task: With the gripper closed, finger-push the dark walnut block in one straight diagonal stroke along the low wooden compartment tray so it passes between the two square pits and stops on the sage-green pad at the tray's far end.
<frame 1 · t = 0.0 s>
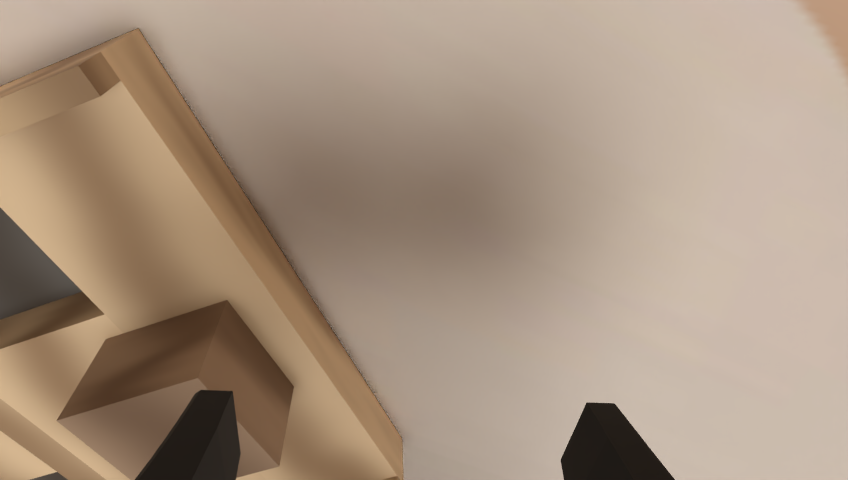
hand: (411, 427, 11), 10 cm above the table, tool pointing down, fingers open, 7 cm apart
wooden compartment tray: (43, 375, 24), on the table
walnut block: (204, 363, 20), point 2 cm above the table, touching wooden compartment tray
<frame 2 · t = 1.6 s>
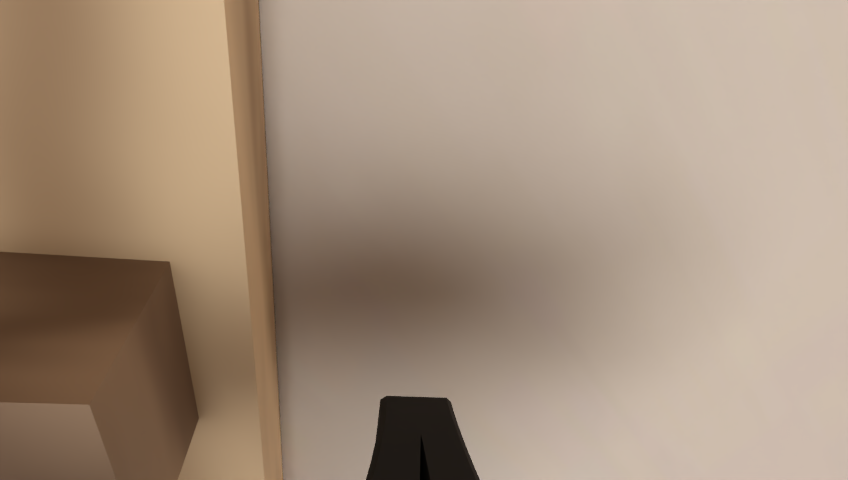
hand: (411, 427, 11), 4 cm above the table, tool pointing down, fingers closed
walnut block: (68, 344, 12), point 2 cm above the table, touching wooden compartment tray
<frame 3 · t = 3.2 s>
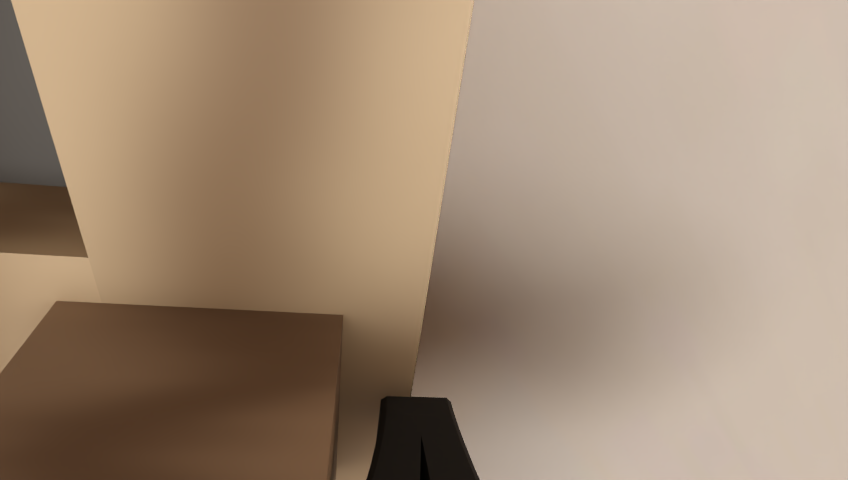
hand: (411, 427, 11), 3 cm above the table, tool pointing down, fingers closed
walnut block: (218, 397, 11), point 3 cm above the table, touching gripper
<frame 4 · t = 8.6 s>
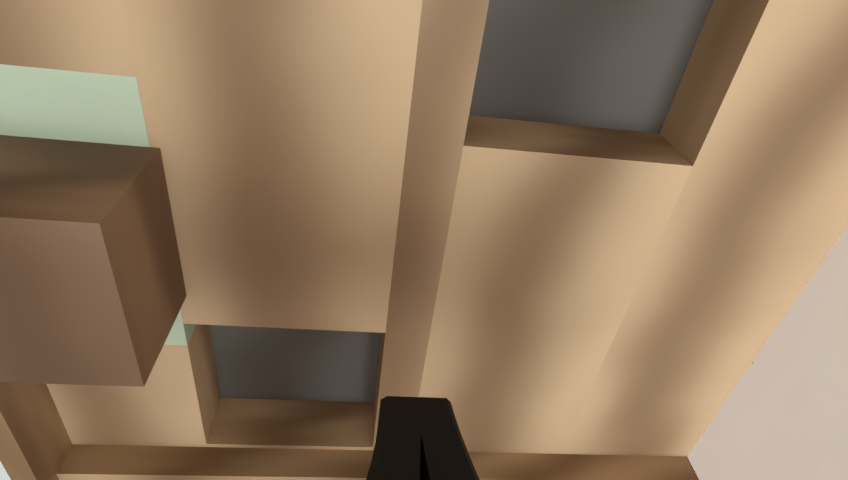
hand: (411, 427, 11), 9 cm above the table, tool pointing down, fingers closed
end pad: (97, 183, 17), on the table
wooden compartment tray: (416, 206, 18), on the table
walnut block: (80, 222, 15), point 2 cm above the table, touching end pad, wooden compartment tray
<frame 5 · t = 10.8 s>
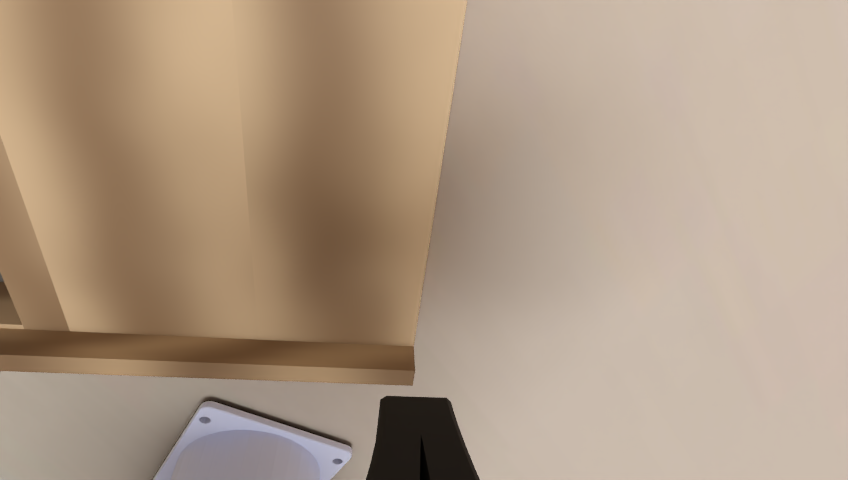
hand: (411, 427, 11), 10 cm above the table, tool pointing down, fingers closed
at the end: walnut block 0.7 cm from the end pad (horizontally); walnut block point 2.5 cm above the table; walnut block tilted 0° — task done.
